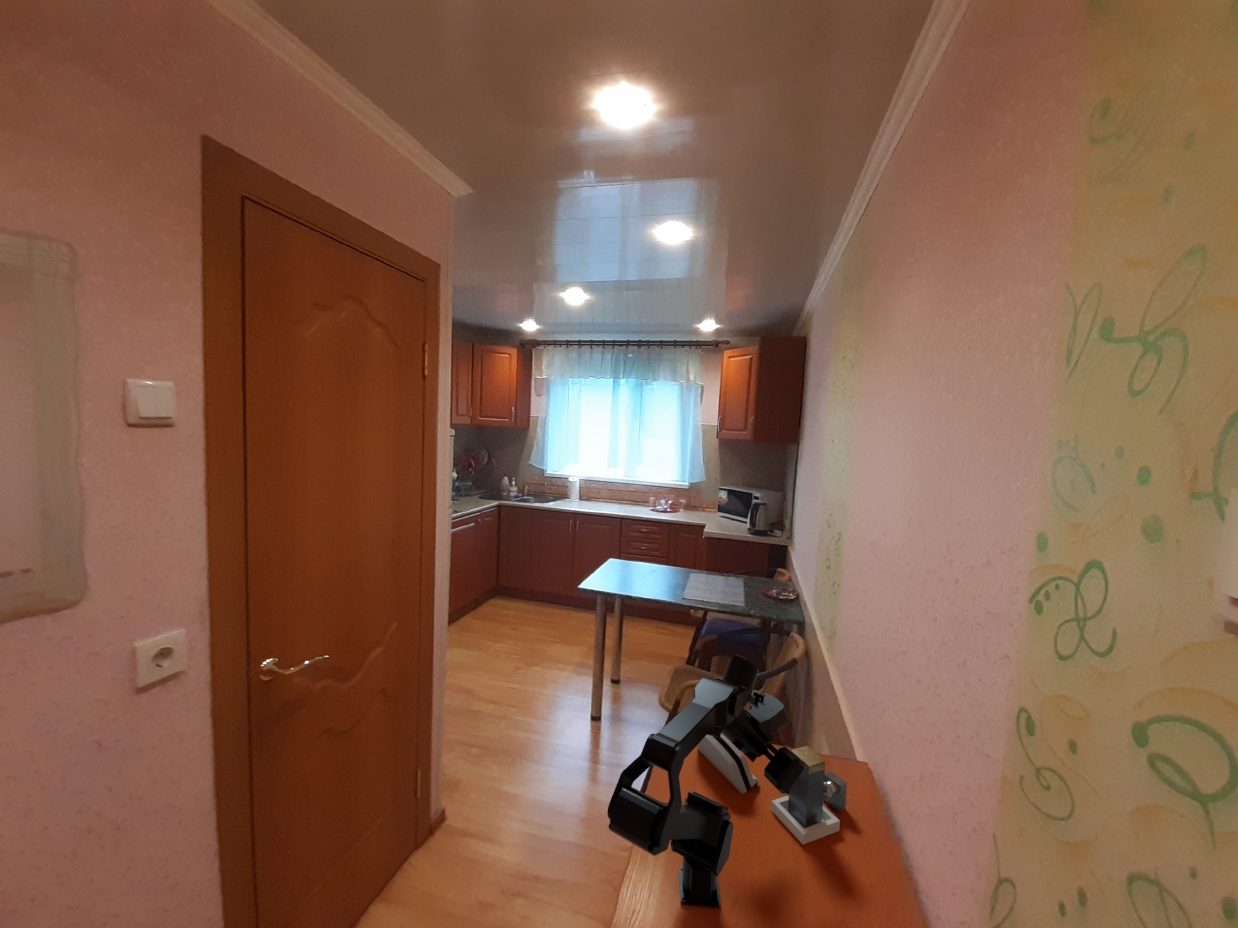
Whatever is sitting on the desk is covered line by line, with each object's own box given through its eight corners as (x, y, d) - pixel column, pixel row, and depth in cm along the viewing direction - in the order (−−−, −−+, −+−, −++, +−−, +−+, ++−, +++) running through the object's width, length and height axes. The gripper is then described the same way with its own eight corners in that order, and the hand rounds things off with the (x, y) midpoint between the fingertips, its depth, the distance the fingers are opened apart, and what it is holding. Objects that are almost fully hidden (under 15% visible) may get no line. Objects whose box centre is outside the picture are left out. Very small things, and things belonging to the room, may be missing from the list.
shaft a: (831, 816, 102) (832, 790, 101) (814, 803, 105) (815, 777, 105) (846, 807, 104) (848, 781, 104) (830, 794, 108) (831, 769, 107)
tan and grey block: (821, 823, 99) (825, 760, 98) (805, 829, 98) (809, 765, 97) (803, 805, 104) (806, 745, 103) (787, 811, 102) (790, 750, 101)
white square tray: (839, 830, 98) (839, 820, 98) (802, 844, 95) (803, 834, 95) (805, 798, 107) (806, 789, 106) (771, 810, 103) (771, 800, 103)
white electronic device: (761, 786, 110) (750, 749, 108) (744, 800, 108) (733, 763, 106) (714, 742, 125) (704, 709, 122) (698, 753, 123) (688, 720, 121)
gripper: (798, 715, 85) (844, 762, 90) (733, 665, 102) (775, 707, 107) (757, 771, 83) (807, 816, 88) (698, 710, 100) (743, 751, 105)
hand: (782, 767), depth 97 cm, fingers open, 9 cm apart
